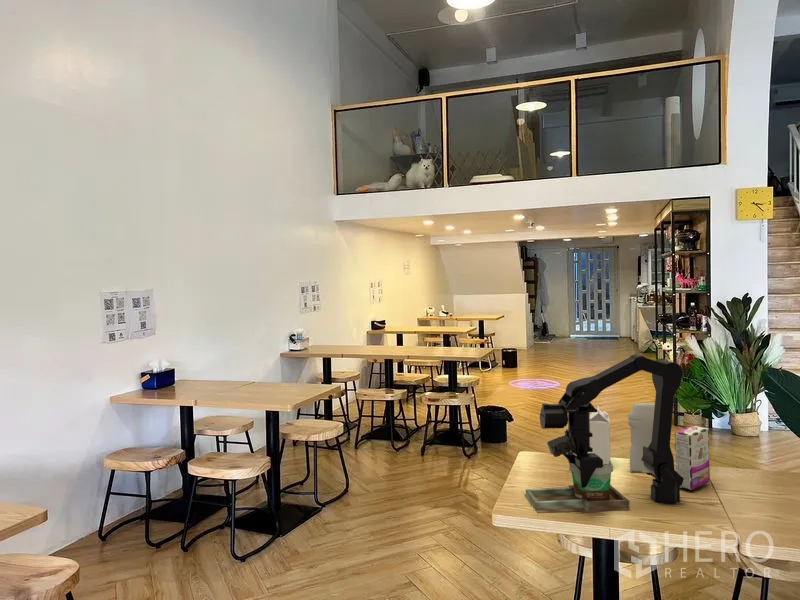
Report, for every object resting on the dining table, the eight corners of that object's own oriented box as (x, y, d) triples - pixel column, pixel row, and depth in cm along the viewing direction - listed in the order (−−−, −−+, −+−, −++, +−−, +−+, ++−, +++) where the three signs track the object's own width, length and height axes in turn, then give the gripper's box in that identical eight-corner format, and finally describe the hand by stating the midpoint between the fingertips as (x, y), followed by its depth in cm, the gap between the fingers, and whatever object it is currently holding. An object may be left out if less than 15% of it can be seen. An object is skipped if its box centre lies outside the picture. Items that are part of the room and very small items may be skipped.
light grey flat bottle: (659, 468, 186) (659, 401, 185) (665, 472, 182) (664, 403, 181) (626, 468, 187) (625, 401, 186) (631, 473, 183) (630, 404, 182)
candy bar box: (693, 477, 177) (693, 424, 177) (710, 482, 173) (710, 428, 173) (674, 486, 171) (674, 431, 170) (691, 490, 167) (691, 434, 166)
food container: (578, 505, 155) (577, 468, 156) (570, 499, 161) (568, 462, 162) (622, 503, 156) (621, 465, 157) (612, 496, 162) (611, 460, 163)
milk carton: (587, 466, 190) (587, 409, 189) (587, 460, 197) (587, 404, 196) (610, 468, 188) (610, 410, 187) (610, 461, 194) (609, 405, 194)
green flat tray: (609, 492, 167) (609, 483, 167) (629, 510, 154) (629, 500, 154) (524, 496, 166) (524, 487, 165) (537, 514, 153) (537, 505, 152)
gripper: (540, 420, 168) (540, 473, 168) (561, 437, 149) (562, 497, 150) (577, 419, 169) (578, 472, 169) (603, 436, 150) (604, 495, 150)
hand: (579, 483), depth 160 cm, fingers open, 6 cm apart
